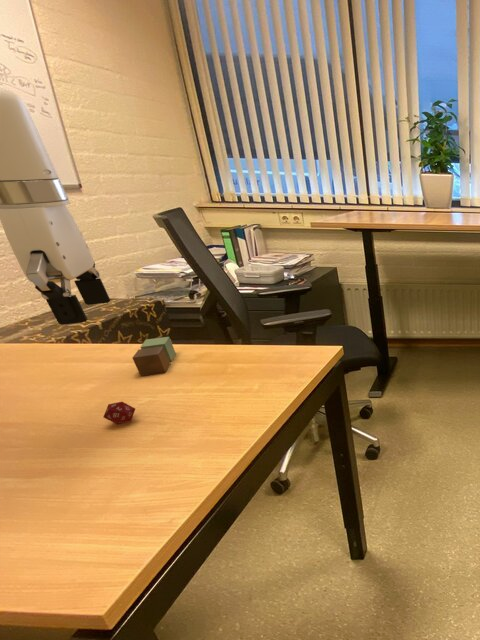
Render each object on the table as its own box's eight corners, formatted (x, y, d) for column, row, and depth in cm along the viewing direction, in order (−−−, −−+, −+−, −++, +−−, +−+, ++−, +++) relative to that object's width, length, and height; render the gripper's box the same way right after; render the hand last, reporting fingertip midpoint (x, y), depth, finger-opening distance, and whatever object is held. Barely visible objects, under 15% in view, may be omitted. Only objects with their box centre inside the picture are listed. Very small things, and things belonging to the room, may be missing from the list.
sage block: (148, 364, 95) (140, 346, 92) (153, 357, 98) (145, 339, 96) (171, 361, 96) (164, 343, 94) (176, 353, 100) (169, 336, 98)
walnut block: (140, 376, 90) (132, 357, 88) (146, 367, 93) (138, 349, 91) (165, 372, 91) (157, 354, 89) (170, 364, 95) (163, 346, 93)
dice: (108, 421, 75) (98, 403, 73) (139, 413, 77) (130, 394, 75) (108, 431, 72) (97, 412, 70) (140, 422, 75) (131, 403, 73)
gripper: (24, 190, 63) (79, 299, 71) (-51, 201, 49) (27, 336, 57) (87, 189, 66) (133, 294, 74) (33, 199, 52) (96, 327, 60)
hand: (87, 312), depth 65 cm, fingers open, 9 cm apart
